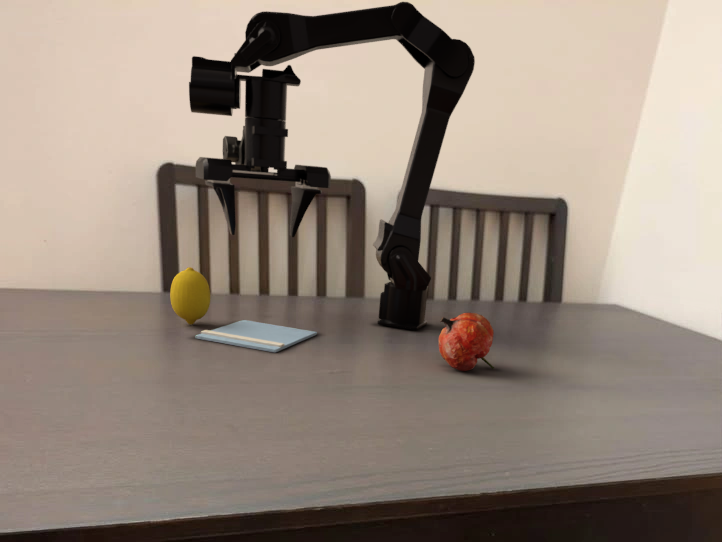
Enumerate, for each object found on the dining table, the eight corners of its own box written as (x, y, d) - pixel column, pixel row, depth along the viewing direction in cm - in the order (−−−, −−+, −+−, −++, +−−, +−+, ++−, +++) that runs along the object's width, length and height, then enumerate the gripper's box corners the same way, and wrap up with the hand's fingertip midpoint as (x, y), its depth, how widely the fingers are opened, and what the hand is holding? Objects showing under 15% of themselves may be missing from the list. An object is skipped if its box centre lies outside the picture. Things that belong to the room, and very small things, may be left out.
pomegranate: (471, 376, 99) (419, 328, 96) (511, 338, 96) (459, 287, 93) (477, 398, 93) (421, 347, 89) (520, 358, 90) (464, 304, 87)
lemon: (169, 320, 106) (168, 263, 103) (208, 320, 108) (207, 264, 104) (172, 328, 101) (170, 269, 98) (212, 329, 103) (212, 271, 100)
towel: (316, 334, 105) (317, 329, 105) (275, 352, 94) (275, 347, 93) (243, 322, 108) (243, 317, 108) (195, 338, 97) (194, 333, 97)
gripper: (308, 126, 112) (303, 231, 119) (186, 113, 105) (188, 227, 111) (335, 125, 103) (328, 240, 110) (204, 112, 96) (205, 236, 102)
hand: (262, 235), depth 108 cm, fingers open, 9 cm apart
